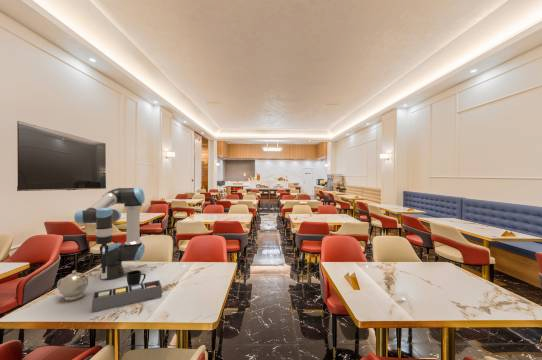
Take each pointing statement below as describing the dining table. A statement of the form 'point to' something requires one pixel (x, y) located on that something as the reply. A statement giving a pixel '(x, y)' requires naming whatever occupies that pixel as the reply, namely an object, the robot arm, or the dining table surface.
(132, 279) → the mug
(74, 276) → the teapot
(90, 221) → the robot arm
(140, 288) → the key
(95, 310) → the compartment tray
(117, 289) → the key
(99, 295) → the key
